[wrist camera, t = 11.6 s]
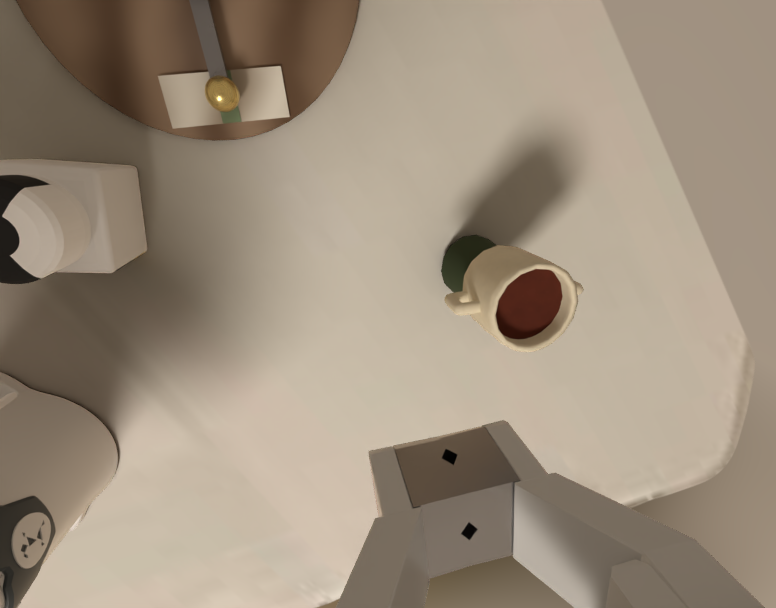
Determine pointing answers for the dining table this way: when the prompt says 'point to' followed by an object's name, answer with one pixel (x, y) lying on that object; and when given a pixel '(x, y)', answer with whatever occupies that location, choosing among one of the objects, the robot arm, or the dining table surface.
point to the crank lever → (214, 60)
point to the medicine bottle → (67, 218)
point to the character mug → (510, 292)
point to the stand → (198, 57)
